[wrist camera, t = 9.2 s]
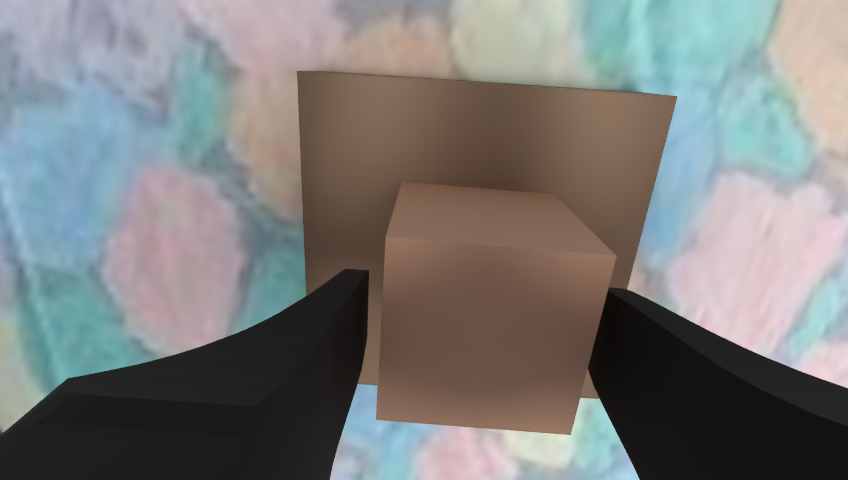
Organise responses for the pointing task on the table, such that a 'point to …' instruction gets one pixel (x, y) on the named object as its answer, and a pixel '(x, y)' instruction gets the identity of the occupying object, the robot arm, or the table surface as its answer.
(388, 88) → the walnut block
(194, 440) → the robot arm
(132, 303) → the table surface
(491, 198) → the terracotta cube
